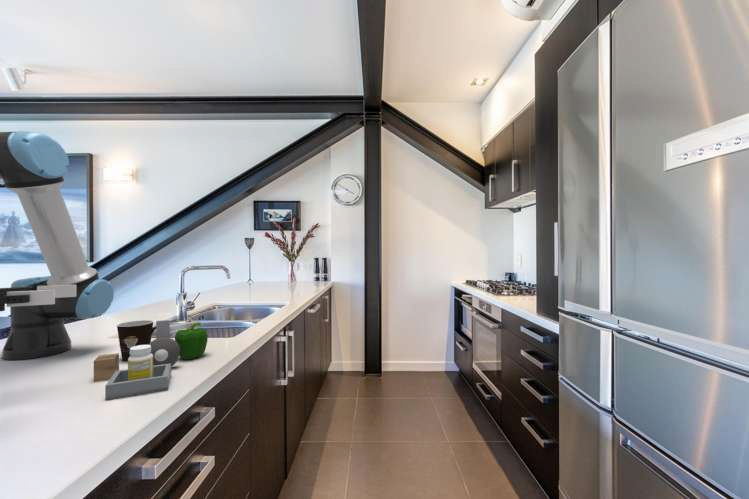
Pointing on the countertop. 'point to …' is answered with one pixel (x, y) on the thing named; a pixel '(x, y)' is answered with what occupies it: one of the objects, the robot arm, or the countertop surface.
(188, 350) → the bell pepper
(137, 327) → the coffee mug
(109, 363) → the wooden block
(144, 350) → the supplement bottle
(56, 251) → the robot arm
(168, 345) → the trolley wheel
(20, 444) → the countertop surface
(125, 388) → the tray
